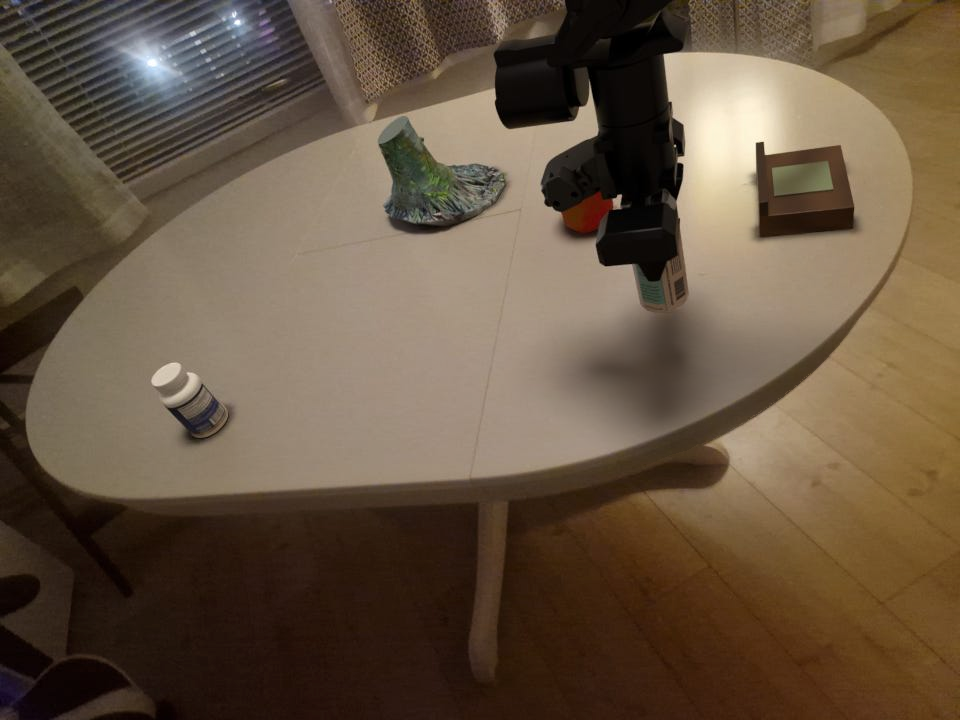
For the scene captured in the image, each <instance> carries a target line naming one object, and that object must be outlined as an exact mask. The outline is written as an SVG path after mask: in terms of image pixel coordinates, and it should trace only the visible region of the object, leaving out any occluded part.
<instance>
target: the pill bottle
mask: <svg viewBox="0 0 960 720" xmlns="http://www.w3.org/2000/svg"><path fill="white" fill-rule="evenodd" d="M150 381H151V385H152V386H153V387H154V389H156V391H157V392H158V393H159V401H160V403H161V404H162V406H164V407H165V408H166V410H167V411H168V412H169V413H170V414H171V415H172V416H173V417H174V418H175V419H176V420H177V422H179V423H180V424H181V425H182V426H183V427H184V428H185V429H186V430H187V431H188V432H189V433H190V434H191V435H192V436H193V437H195V438H198V439H204V438H208V437H210V436H212V435H214V434H216V433H217V432H218V431H219V430H221V429H222V428H223V426H224V425H225V424H226V422H227V421H228V417H229V410H228V409H227V408H226V406H225V405H224V404H223V402H222V401H221V400H220V399H219V398H218V397H217V396H216V394H215V393H214V392H213V391H212V390H211V389H210V388H209V387H208V385H206V383H205V382H204V381H203V379H201V378H200V376H199V375H197V374H196V373H194V372H188V371H187V370H186V369H185V368H184V367H183V366H182V365H181V364H180V363H179V362H170V363H167V364H165V365H163V366H162V367H160V368H159V369H158V370H157V371H155V373H154V374H153V376H152V377H151V379H150Z"/></svg>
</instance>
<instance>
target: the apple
mask: <svg viewBox="0 0 960 720" xmlns="http://www.w3.org/2000/svg"><path fill="white" fill-rule="evenodd" d="M609 210H614V200H613V199H607V200H602V196H601V191H599V192H598V193H596V194H595V195H593V196H591V197H589V198H587V199H585V200H583V201H582V203H580V204H578V205H576V206H574V207H572V208H571V209H569V210H567V211H564V212H560V214H561V216H562V220H563V222H564V224H565V226H566V227H568V228H570V229H572V230H574V231H576V232H578V233H583V234H587V233H591V232H593V231H595V230H599V225H600V221H601V219H602V218H603V217H604V216H605V215H606V214H607V212H608V211H609Z"/></svg>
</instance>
